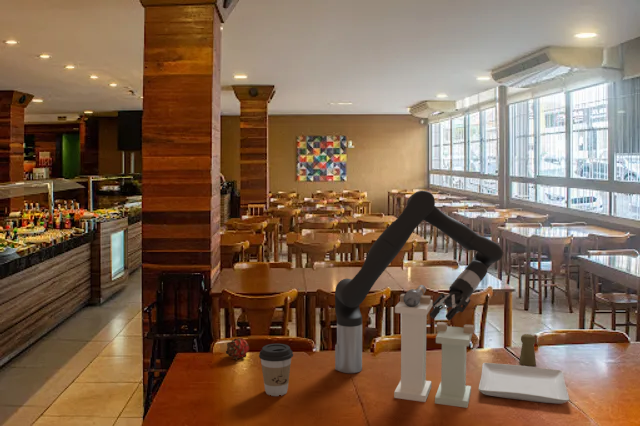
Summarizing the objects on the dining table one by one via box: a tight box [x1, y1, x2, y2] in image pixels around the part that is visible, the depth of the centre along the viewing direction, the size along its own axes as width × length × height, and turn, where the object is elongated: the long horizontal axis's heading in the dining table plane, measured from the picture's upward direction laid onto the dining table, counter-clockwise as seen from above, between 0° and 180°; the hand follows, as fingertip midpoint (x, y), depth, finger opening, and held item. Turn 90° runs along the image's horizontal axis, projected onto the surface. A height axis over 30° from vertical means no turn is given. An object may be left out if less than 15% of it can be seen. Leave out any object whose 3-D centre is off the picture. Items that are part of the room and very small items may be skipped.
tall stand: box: [393, 293, 434, 403], centre depth 185 cm, size 10×13×32 cm
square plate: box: [478, 362, 570, 405], centre depth 190 cm, size 27×27×4 cm
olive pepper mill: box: [518, 333, 537, 367], centre depth 213 cm, size 6×6×11 cm
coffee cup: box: [258, 343, 294, 397], centre depth 187 cm, size 11×11×15 cm
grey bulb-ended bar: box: [403, 284, 427, 307], centre depth 189 cm, size 20×5×5 cm, turn 160°
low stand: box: [434, 321, 475, 409], centre depth 182 cm, size 12×13×24 cm
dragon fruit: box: [225, 337, 250, 360], centre depth 221 cm, size 8×8×12 cm
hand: (439, 317), depth 195 cm, fingers open, 8 cm apart
